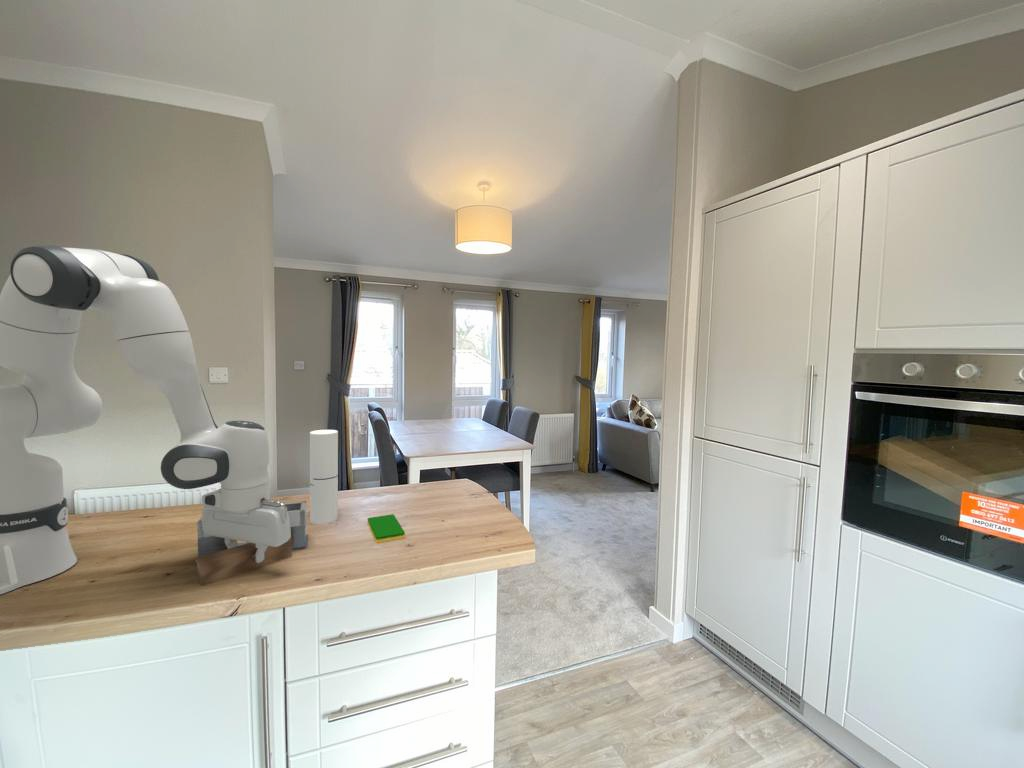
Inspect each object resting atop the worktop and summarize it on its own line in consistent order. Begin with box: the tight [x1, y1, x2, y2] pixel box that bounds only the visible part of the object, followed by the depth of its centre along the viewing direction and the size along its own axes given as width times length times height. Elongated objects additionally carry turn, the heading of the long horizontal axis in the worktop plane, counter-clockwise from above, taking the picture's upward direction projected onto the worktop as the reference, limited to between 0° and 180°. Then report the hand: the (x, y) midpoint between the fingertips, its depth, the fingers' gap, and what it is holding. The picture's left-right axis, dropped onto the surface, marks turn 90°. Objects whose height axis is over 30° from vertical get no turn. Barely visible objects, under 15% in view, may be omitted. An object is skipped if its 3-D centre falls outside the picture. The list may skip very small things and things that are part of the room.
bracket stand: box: [194, 500, 310, 565], centre depth 99 cm, size 22×7×10 cm, turn 113°
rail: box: [196, 537, 293, 587], centre depth 91 cm, size 17×3×5 cm, turn 139°
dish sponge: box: [367, 514, 406, 544], centre depth 112 cm, size 7×14×2 cm, turn 27°
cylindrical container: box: [309, 429, 339, 525], centre depth 118 cm, size 7×7×25 cm
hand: (246, 559), depth 91 cm, fingers closed on rail, 5 cm apart
